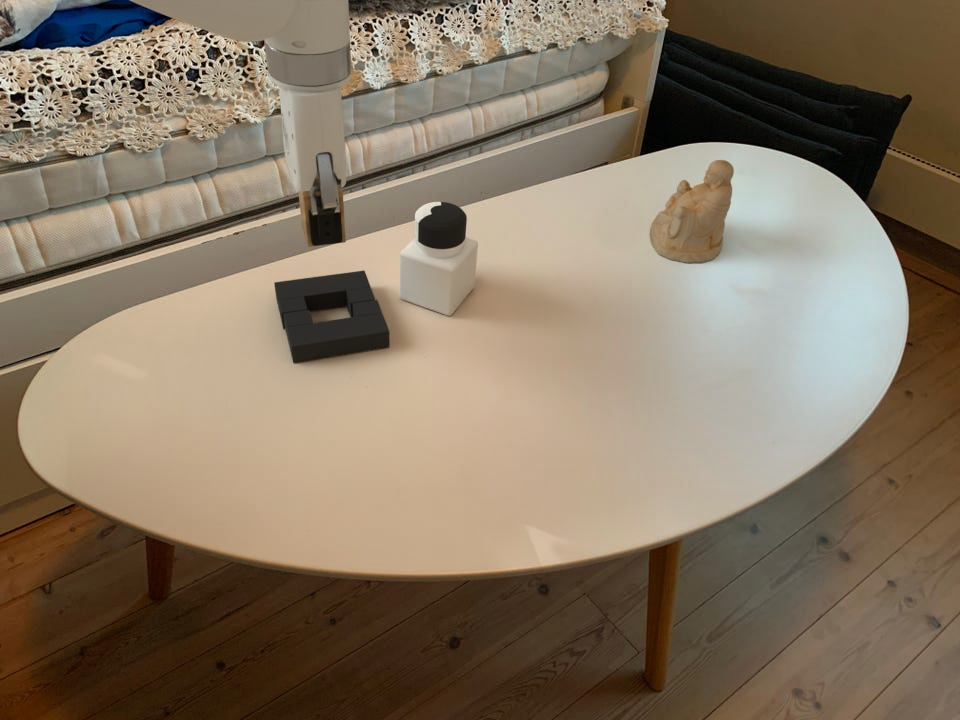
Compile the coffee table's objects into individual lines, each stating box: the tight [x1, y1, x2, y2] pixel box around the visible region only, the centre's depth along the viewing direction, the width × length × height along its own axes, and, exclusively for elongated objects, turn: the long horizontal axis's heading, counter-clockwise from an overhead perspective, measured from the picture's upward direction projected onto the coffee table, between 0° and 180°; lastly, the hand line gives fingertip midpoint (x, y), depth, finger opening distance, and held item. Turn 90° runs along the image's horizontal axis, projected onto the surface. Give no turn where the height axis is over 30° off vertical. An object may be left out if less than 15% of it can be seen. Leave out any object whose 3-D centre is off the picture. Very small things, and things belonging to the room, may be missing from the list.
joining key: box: [297, 179, 347, 248], centre depth 81 cm, size 4×4×6 cm
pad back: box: [273, 269, 376, 330], centre depth 94 cm, size 11×6×2 cm, turn 109°
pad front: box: [283, 299, 390, 364], centre depth 89 cm, size 11×6×2 cm, turn 109°
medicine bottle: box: [399, 201, 479, 317], centre depth 94 cm, size 7×7×12 cm
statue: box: [649, 159, 735, 264], centre depth 108 cm, size 12×14×10 cm
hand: (322, 229), depth 83 cm, fingers closed on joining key, 4 cm apart
